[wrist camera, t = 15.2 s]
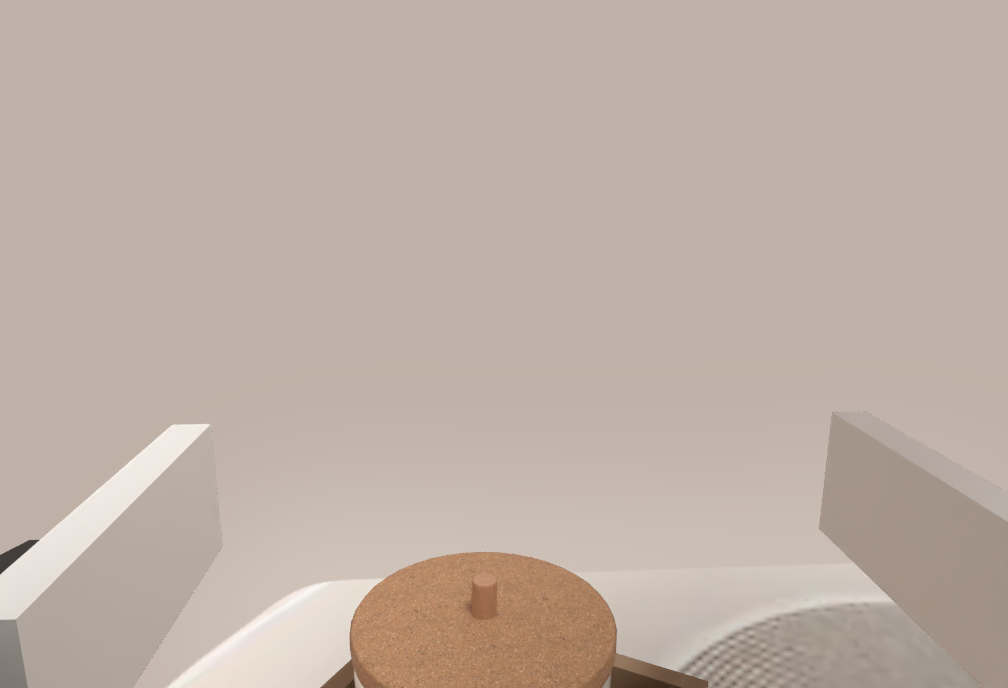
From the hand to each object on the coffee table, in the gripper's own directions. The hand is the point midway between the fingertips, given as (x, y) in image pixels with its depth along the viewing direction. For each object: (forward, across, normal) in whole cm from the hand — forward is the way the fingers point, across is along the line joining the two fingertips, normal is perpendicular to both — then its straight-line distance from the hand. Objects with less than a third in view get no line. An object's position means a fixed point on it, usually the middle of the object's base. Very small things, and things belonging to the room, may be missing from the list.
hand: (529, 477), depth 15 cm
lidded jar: (+12, -1, -19) cm, 22 cm away
